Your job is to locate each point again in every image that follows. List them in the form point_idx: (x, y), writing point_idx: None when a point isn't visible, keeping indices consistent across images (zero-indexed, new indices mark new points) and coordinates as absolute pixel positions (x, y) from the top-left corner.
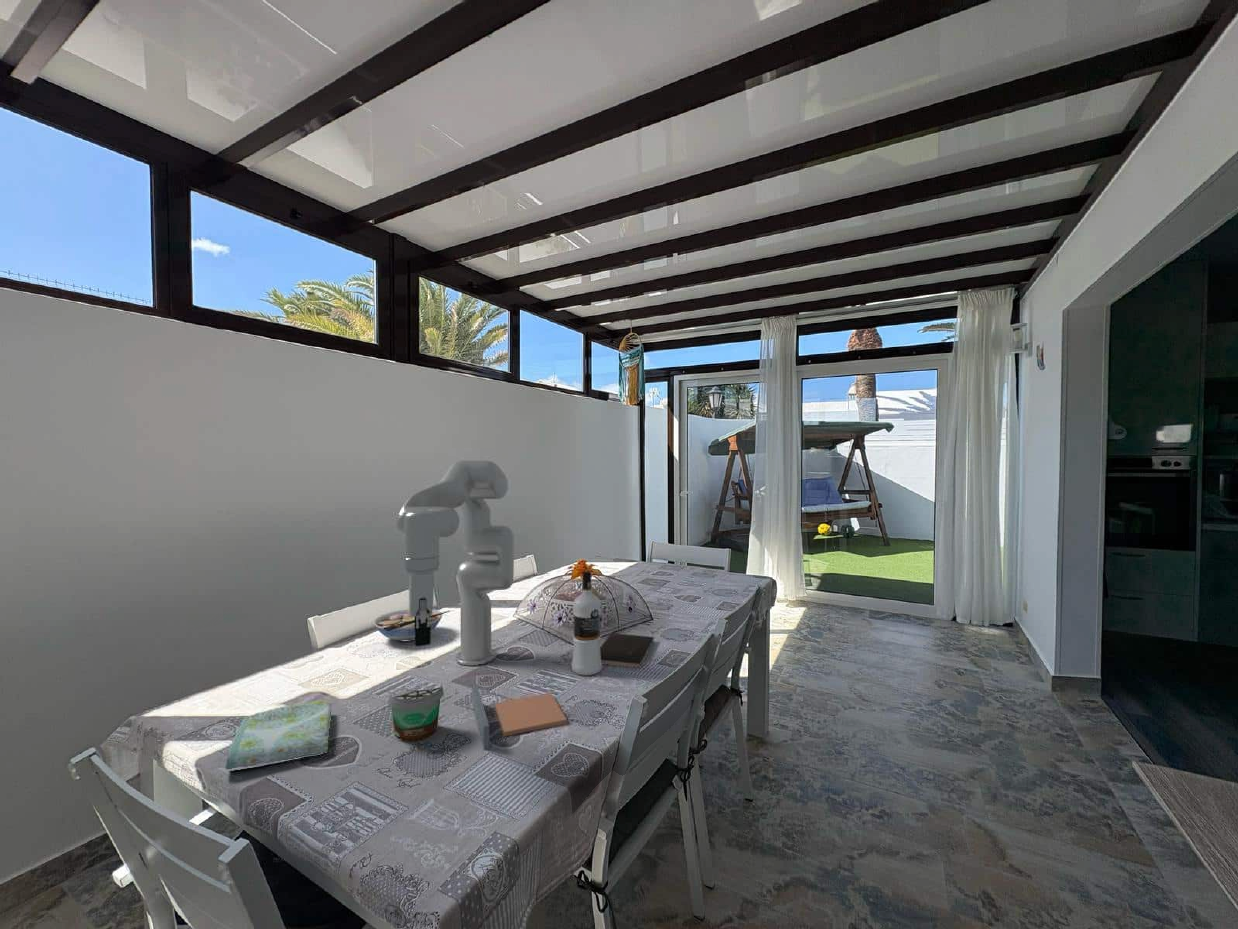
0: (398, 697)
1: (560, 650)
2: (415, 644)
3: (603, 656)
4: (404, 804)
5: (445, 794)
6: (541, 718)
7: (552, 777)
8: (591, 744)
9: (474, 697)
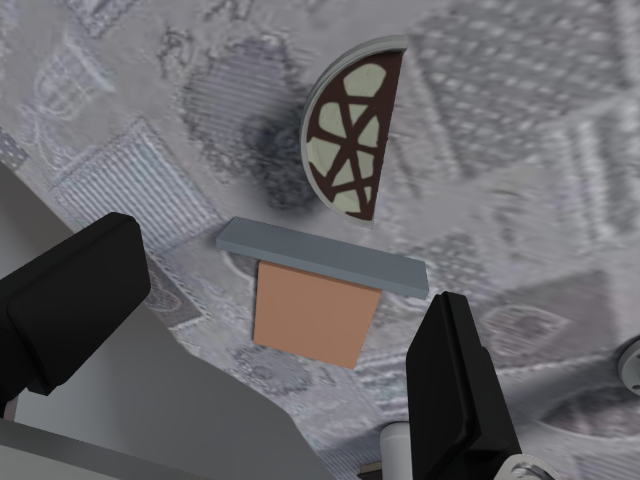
0: (380, 78)
1: None
2: (107, 216)
3: None
4: (105, 31)
5: (121, 114)
6: (274, 322)
7: None
8: (190, 330)
9: (379, 273)
